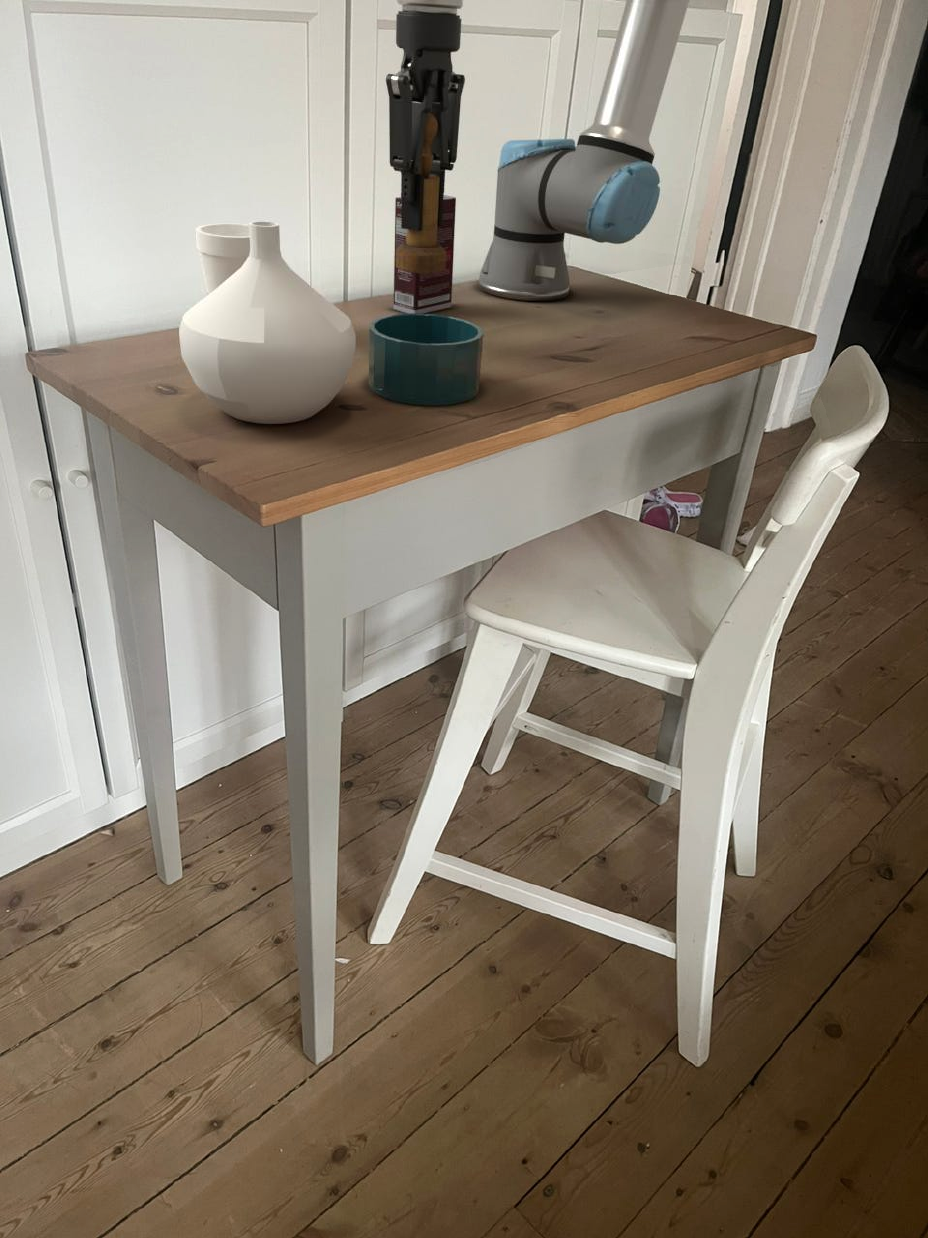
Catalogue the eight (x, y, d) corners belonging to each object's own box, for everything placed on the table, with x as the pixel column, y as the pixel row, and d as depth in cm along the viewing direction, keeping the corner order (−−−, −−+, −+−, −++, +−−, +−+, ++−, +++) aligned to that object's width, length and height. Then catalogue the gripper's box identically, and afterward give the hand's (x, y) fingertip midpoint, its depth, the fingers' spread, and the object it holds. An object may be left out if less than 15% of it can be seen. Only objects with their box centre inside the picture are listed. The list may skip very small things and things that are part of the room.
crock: (410, 362, 122) (412, 307, 118) (498, 386, 116) (503, 328, 112) (346, 387, 112) (346, 327, 108) (438, 414, 106) (442, 352, 103)
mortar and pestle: (439, 276, 121) (445, 117, 111) (390, 270, 122) (392, 112, 112) (450, 265, 126) (457, 113, 117) (403, 260, 127) (406, 108, 118)
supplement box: (429, 301, 149) (434, 192, 141) (452, 308, 147) (458, 197, 138) (390, 309, 143) (393, 196, 135) (413, 316, 141) (418, 201, 132)
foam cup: (190, 336, 125) (182, 231, 118) (222, 319, 133) (215, 220, 126) (257, 345, 123) (252, 240, 116) (285, 328, 131) (282, 228, 124)
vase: (158, 395, 105) (139, 211, 95) (304, 373, 115) (300, 204, 105) (231, 452, 93) (218, 248, 83) (386, 421, 103) (392, 236, 93)
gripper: (442, 11, 116) (434, 214, 129) (357, 4, 104) (357, 230, 117) (494, 14, 113) (481, 223, 126) (413, 8, 101) (407, 240, 114)
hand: (421, 226), depth 121 cm, fingers closed on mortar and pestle, 4 cm apart
